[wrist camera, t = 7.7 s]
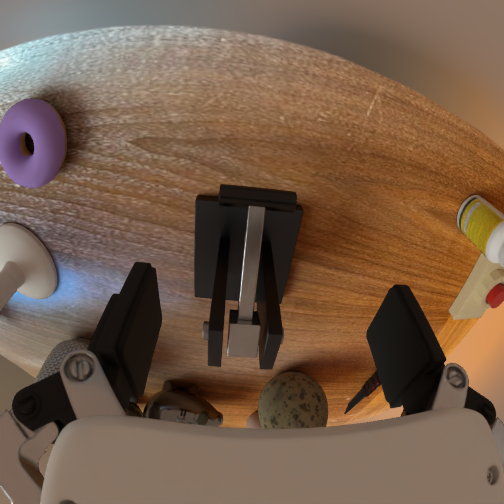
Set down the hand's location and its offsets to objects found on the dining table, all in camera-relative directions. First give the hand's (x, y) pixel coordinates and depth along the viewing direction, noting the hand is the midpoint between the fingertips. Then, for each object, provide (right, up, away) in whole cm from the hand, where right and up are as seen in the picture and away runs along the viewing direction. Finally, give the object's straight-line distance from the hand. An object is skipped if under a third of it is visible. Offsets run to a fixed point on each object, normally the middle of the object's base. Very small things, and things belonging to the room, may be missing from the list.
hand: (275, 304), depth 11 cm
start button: (+36, -4, +20) cm, 41 cm away
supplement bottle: (+27, +7, +17) cm, 32 cm away
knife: (+21, -24, +38) cm, 49 cm away
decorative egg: (+5, -19, +34) cm, 39 cm away
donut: (-23, +14, +11) cm, 29 cm away
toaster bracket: (-2, +2, +19) cm, 20 cm away
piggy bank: (-13, -24, +37) cm, 45 cm away
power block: (+36, -2, +23) cm, 43 cm away
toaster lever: (-1, +1, +10) cm, 10 cm away
